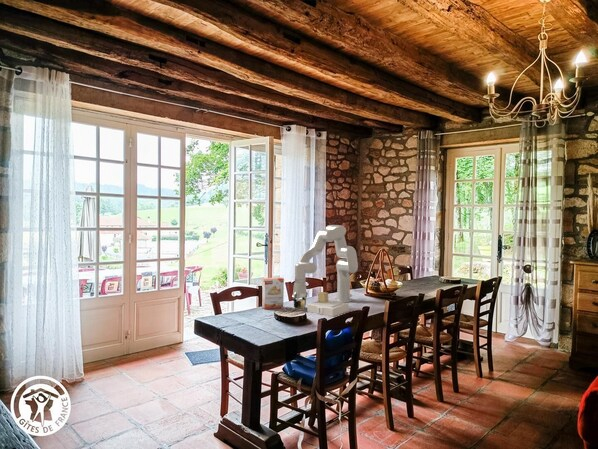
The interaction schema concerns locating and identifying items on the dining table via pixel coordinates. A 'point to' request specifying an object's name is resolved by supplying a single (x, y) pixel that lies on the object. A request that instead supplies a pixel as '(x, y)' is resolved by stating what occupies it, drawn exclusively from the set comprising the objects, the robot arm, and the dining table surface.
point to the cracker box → (272, 293)
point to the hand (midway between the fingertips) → (299, 306)
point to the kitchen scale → (328, 307)
